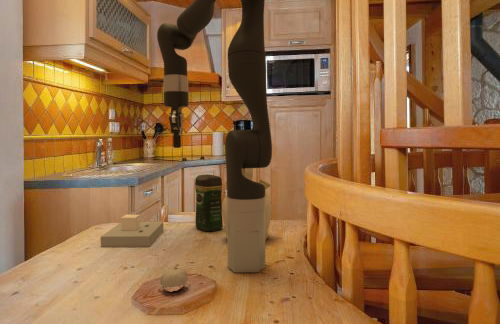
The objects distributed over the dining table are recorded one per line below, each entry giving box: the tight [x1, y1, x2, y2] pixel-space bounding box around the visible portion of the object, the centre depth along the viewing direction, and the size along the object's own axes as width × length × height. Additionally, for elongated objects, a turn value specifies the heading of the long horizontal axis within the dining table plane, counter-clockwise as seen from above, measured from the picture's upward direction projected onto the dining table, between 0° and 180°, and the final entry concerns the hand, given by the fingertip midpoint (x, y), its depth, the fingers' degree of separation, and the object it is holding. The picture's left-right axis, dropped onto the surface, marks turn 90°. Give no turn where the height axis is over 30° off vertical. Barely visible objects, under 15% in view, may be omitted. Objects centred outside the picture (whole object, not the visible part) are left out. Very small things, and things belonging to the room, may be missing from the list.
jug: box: [222, 168, 273, 241], centre depth 119 cm, size 15×16×25 cm
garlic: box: [159, 263, 189, 288], centre depth 81 cm, size 6×5×5 cm
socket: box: [100, 221, 164, 248], centre depth 121 cm, size 18×14×4 cm
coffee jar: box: [194, 173, 224, 232], centre depth 132 cm, size 10×8×19 cm
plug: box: [120, 214, 141, 231], centre depth 121 cm, size 4×4×6 cm
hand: (177, 147), depth 120 cm, fingers closed
